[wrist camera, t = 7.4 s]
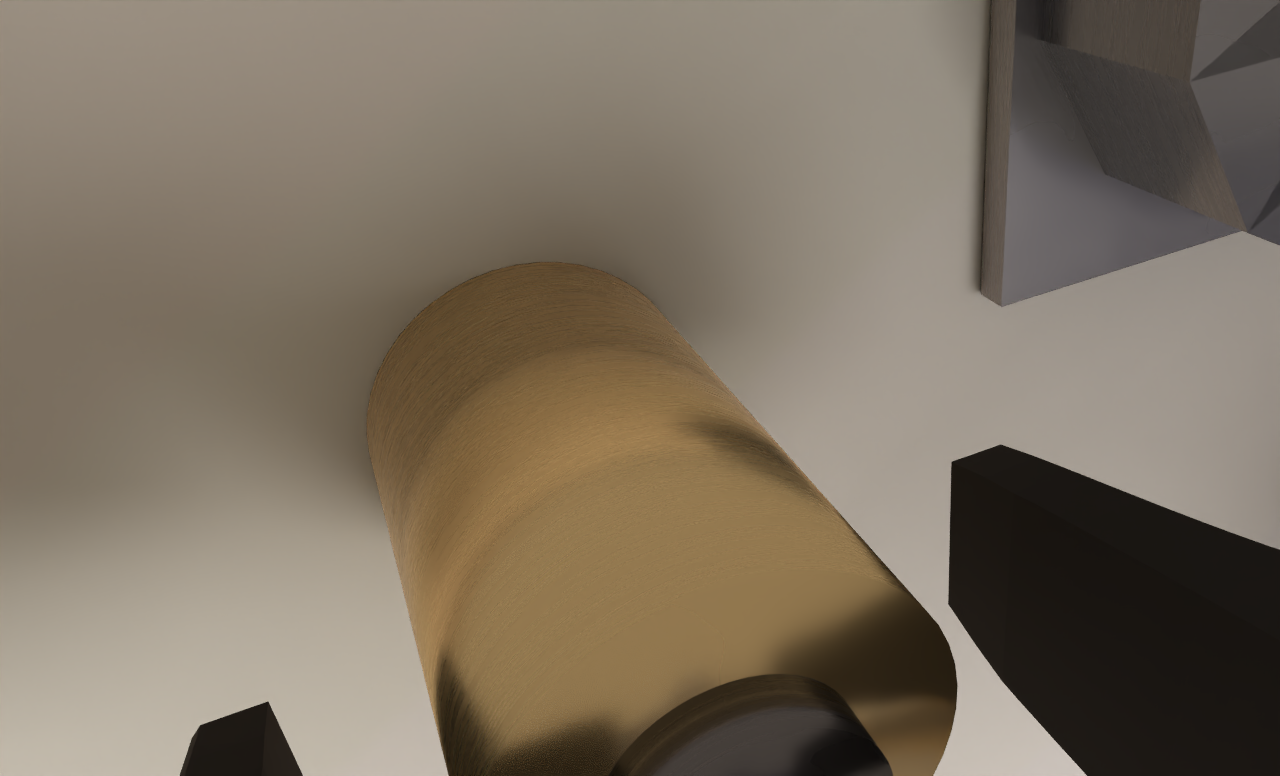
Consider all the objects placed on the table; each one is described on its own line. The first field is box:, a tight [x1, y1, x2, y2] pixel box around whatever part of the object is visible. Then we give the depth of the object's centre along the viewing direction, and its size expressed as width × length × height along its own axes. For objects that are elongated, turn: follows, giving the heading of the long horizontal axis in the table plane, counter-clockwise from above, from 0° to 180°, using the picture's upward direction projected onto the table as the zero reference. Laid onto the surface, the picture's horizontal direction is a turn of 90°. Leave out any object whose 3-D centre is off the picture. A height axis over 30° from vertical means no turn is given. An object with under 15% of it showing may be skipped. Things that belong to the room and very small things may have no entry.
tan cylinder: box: [367, 262, 957, 776], centre depth 11 cm, size 4×4×7 cm
